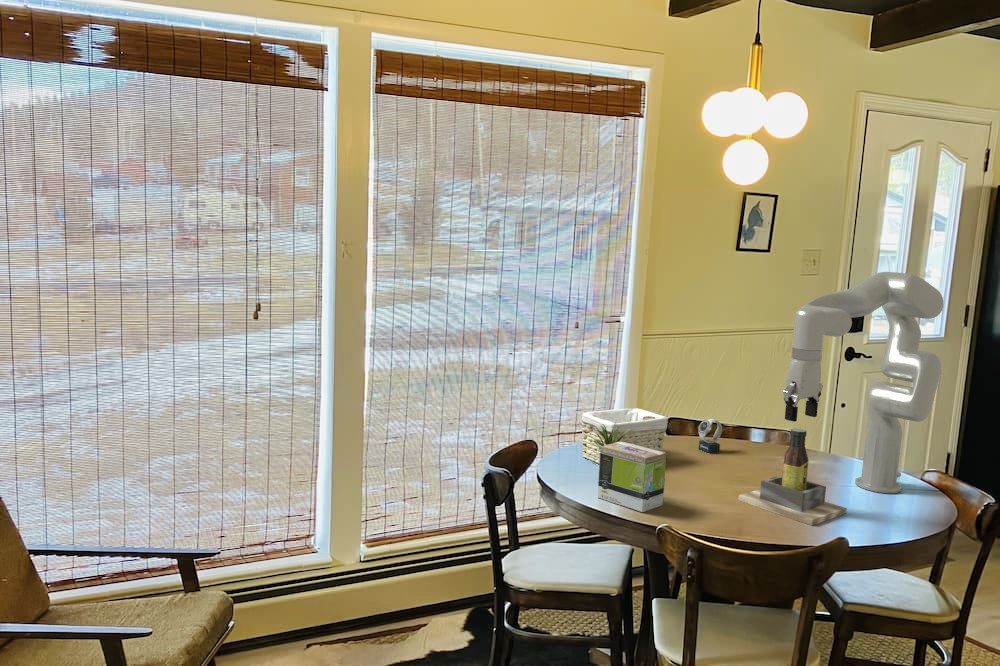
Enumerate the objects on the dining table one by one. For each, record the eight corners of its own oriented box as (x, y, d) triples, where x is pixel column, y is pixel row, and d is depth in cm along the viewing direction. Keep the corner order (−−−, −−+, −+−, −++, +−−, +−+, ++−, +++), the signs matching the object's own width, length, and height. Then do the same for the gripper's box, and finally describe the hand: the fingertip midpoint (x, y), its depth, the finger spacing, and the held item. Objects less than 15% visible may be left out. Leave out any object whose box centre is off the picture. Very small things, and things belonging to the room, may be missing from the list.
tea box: (663, 505, 215) (668, 451, 213) (642, 513, 208) (646, 458, 206) (618, 490, 225) (621, 439, 223) (595, 498, 218) (599, 445, 216)
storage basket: (632, 449, 270) (636, 406, 268) (667, 462, 256) (670, 416, 254) (576, 457, 257) (579, 411, 255) (609, 471, 243) (612, 423, 242)
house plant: (574, 477, 235) (578, 423, 233) (587, 465, 248) (591, 413, 246) (622, 485, 230) (626, 430, 228) (633, 472, 243) (637, 420, 240)
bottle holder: (773, 490, 233) (775, 468, 232) (845, 513, 216) (848, 490, 215) (738, 500, 222) (740, 477, 221) (811, 525, 205) (814, 501, 204)
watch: (693, 449, 272) (696, 418, 271) (713, 448, 275) (716, 417, 274) (703, 454, 267) (706, 422, 266) (723, 452, 270) (726, 421, 269)
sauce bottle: (806, 506, 215) (813, 434, 212) (781, 504, 216) (789, 432, 213) (802, 499, 221) (809, 428, 219) (778, 496, 222) (785, 426, 220)
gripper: (811, 351, 222) (805, 411, 224) (775, 355, 211) (769, 419, 213) (837, 355, 216) (830, 417, 218) (801, 360, 205) (795, 425, 207)
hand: (800, 418), depth 216 cm, fingers open, 9 cm apart
